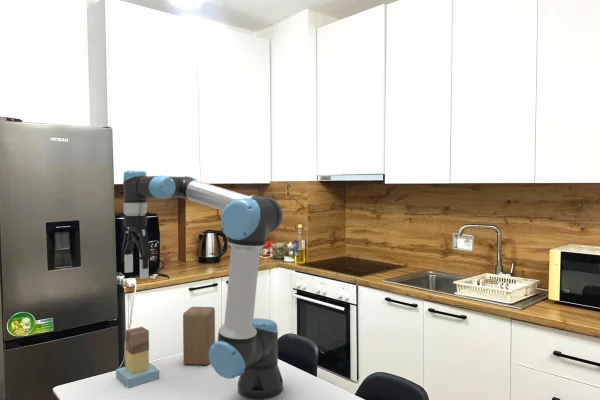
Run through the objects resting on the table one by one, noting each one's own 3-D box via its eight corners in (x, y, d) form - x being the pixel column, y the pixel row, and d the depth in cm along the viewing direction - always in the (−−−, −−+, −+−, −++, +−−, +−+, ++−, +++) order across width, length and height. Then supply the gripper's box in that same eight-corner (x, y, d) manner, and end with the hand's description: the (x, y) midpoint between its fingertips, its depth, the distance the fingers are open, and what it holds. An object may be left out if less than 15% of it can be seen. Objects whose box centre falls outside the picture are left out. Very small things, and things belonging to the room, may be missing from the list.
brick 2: (148, 369, 154) (148, 349, 154) (132, 374, 150) (131, 354, 150) (142, 364, 158) (141, 345, 158) (125, 369, 154) (125, 349, 154)
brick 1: (149, 350, 154) (148, 330, 153) (132, 354, 150) (131, 334, 149) (142, 345, 158) (141, 326, 158) (125, 349, 154) (125, 330, 154)
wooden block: (215, 355, 174) (215, 306, 173) (208, 366, 164) (207, 313, 163) (191, 355, 175) (191, 305, 174) (182, 365, 165) (182, 313, 164)
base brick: (159, 378, 154) (159, 370, 154) (128, 388, 146) (128, 379, 146) (146, 368, 162) (146, 360, 162) (116, 377, 154) (116, 369, 154)
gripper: (161, 216, 146) (162, 278, 146) (132, 212, 164) (133, 268, 165) (139, 217, 140) (140, 282, 141) (111, 213, 159) (112, 271, 159)
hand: (136, 275), depth 153 cm, fingers open, 13 cm apart
